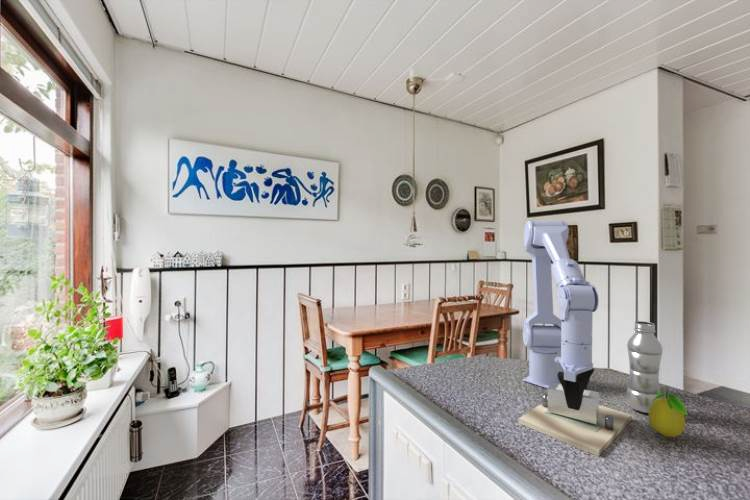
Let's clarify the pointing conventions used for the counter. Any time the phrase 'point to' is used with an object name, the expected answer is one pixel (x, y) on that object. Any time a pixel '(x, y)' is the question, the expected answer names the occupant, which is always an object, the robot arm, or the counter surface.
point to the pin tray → (577, 427)
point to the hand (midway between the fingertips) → (575, 404)
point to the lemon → (667, 415)
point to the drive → (585, 413)
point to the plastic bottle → (643, 367)
